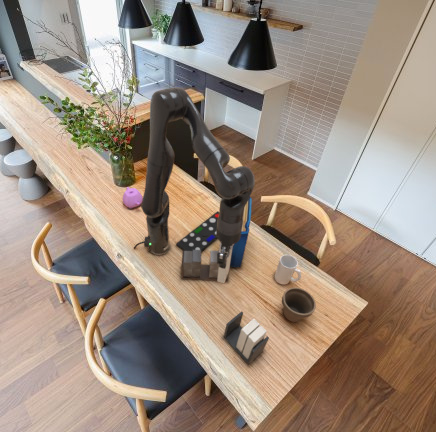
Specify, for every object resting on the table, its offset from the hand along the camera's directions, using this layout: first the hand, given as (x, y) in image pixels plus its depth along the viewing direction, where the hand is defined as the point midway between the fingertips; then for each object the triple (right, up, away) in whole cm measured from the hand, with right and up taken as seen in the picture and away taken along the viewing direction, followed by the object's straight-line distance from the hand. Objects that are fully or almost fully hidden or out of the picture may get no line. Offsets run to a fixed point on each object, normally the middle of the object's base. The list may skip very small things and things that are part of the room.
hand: (225, 259), depth 104 cm
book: (+10, -1, +36) cm, 38 cm away
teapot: (-39, +21, +60) cm, 75 cm away
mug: (+29, -12, +24) cm, 40 cm away
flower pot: (+28, -23, +14) cm, 39 cm away
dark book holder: (+7, -31, +6) cm, 32 cm away
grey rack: (-5, -10, +28) cm, 30 cm away
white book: (0, -7, +7) cm, 10 cm away
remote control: (-2, +6, +44) cm, 44 cm away
